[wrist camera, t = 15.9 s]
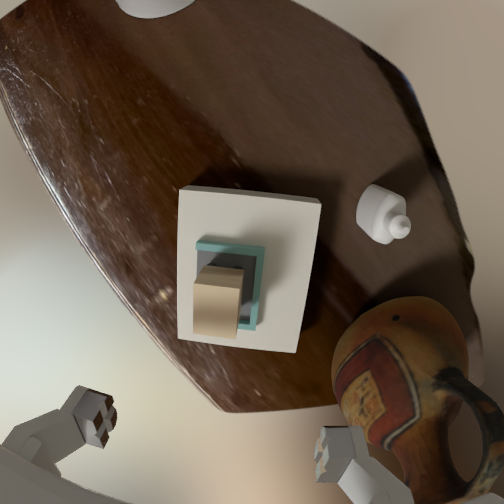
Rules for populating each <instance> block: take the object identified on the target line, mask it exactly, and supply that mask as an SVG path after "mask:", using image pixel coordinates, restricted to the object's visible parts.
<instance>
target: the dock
mask: <svg viewBox="0 0 504 504" xmlns="http://www.w3.org/2000/svg"><path fill="white" fill-rule="evenodd" d="M320 211H321V203H320V202H319V200H318V199H317V198H310V197H302V196H294V195H286V194H277V193H268V192H259V191H249V190H238V189H228V188H216V187H204V186H191V185H188V186H186V187H184V188H182V189H180V190H179V210H178V244H177V318H178V338H179V339H185V340H191V341H198V342H204V343H211V344H219V345H226V346H234V347H242V348H251V349H260V350H269V351H280V352H291V353H296V348H297V343H298V338H299V333H300V328H301V323H302V318H303V313H304V308H305V302H306V297H307V291H308V286H309V280H310V274H311V269H312V263H313V257H314V251H315V244H316V238H317V232H318V225H319V218H320ZM209 263H215V264H216V265H217V266H218V267H225V268H233V267H234V266H240V267H242V268H243V270H244V278H243V289H242V300H241V311H240V318H239V324H238V329H237V334H236V339H230V338H222V337H215V336H207V335H200V334H194V333H193V285H194V282H195V280H196V278H197V276H198V274H199V273H200V271H201V269H202V267H203V266H204V265H207V264H209Z"/></svg>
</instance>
